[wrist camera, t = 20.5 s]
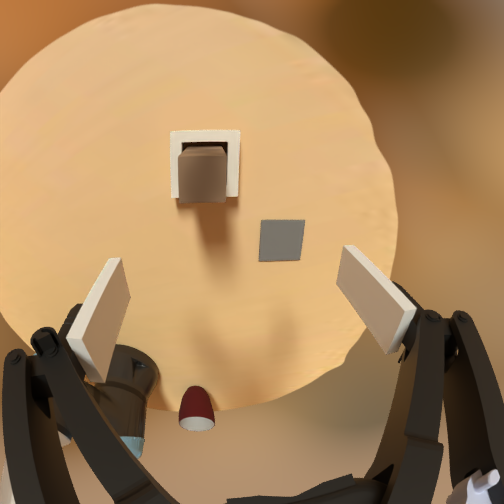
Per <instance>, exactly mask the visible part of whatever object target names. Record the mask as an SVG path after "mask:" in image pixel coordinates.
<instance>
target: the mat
mask: <svg viewBox="0 0 504 504" xmlns="http://www.w3.org/2000/svg"><path fill="white" fill-rule="evenodd" d="M304 226H305V220H261V233H260V249H259V261H278V260H300V256H301V249H302V241H303V234H304Z"/></svg>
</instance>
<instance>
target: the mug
mask: <svg viewBox="0 0 504 504" xmlns="http://www.w3.org/2000/svg"><path fill="white" fill-rule="evenodd" d="M179 425H180V426H181V427H182V428H184V429H187V430H190V431H206V430H209V429H212V428H213V427H214V426H215V419H214V412H213V409H212V405H211V402H210V398H209V396H208V394H207V393H206V392H205V390H204V389H203V388H202V387H199V386H191V387H189V388H188V389H187V391H186V392H185V394H184V395H183V398H182V402H181V406H180V410H179Z"/></svg>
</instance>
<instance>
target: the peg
mask: <svg viewBox="0 0 504 504" xmlns="http://www.w3.org/2000/svg"><path fill="white" fill-rule="evenodd" d="M226 168H227V155H226V153H225V151H224V150H223V148H222V146H221V145H193V146H188V147H187V148H186V149H185V150H184V151H183V152H182V153H181V154H180V155H179V156H178V190H179V203H213V202H226Z"/></svg>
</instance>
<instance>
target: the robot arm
mask: <svg viewBox="0 0 504 504" xmlns="http://www.w3.org/2000/svg"><path fill="white" fill-rule="evenodd" d="M336 284H337V285H338V287H339V288H340V290H341V291H342V292H343V294H344V295H345V296H346V298H347V299H348V301H349V302H350V303H351V305H352V306H353V308H354V309H355V310H356V312H357V313H358V315H359V316H360V318H361V319H362V320H363V322H364V323H365V325H366V326H367V328H368V329H369V330H370V332H371V333H372V335H373V336H374V338H375V339H376V341H377V342H378V343H379V345H380V347H381V348H382V350H383V351H384V353H385V354H386V355H387V354H390V353H393V352H397V351H398V349H399V347H400V345H401V343H403V344H404V346H405V349H404V351H403V353H402V355H401V357H400V359H399V361H398V363H400V361H401V366H400V371H399V376H398V381H397V385H396V389H395V394H394V398H393V402H392V406H391V410H390V413H389V417H388V421H387V424H386V427H385V430H384V434H383V437H382V440H381V443H380V446H379V449H378V452H377V454H376V457H375V460H374V462H373V464H372V466H371V467H370V469H369V470H368V472H367V473H366V475H365V477H364V478H353V476H352V474H349V475H346V476H342V477H339V478H336V479H333V480H330V481H326V482H323V483H321V484H319V485H317V486H315V487H314V488H311V489H310V490H307V491H305V492H303V493H301V494H300V495H297V496H294V497H277V496H276V497H275V496H252V497H243V498H231V499H227V503H225V504H431V501H432V498H433V495H434V491H435V487H436V483H437V479H438V475H439V471H440V466H441V461H442V456H443V448H444V446H443V444H442V443H439V442H438V434H439V427H440V420H441V411H442V401H444V407H445V414H446V422H447V432H448V443H449V459H450V476H451V482H452V487H453V492H452V494H451V495H450V496H448V498H447V501H446V503H447V504H504V403H503V400H502V396H501V393H500V389H499V386H498V383H497V380H496V377H495V374H494V371H493V368H492V365H491V363H490V360H489V357H488V355H487V352H486V350H485V347H484V345H483V342H482V340H481V338H480V335H479V333H478V331H477V329H476V327H475V324H474V322H473V320H472V318H471V317H470V316H469V315H468V314H467V313H466V312H464V311H455V312H454V313H453V315H452V317H451V318H450V319H449V318H442V317H441V315H440V314H438V313H437V312H435V311H433V310H424V309H423V308H422V307H421V306H420V305H419V304H418V303H417V302H416V301H415V300H414V299H413V298H412V297H410V295H409V294H408V293H407V292H406V290H405V289H403V288H402V286H400V285H399V284H397V283H395V282H393V281H392V282H391V281H390V280H389V279H388V278H387V277H386V276H385V275H384V274H383V273H382V272H381V271H380V270H379V269H378V268H377V267H376V266H375V265H374V264H373V263H372V262H371V261H370V260H369V259H368V258H367V257H366V256H365V255H364V254H363V253H362V252H361V251H360V250H359V249H357V248H356V247H355V246H354V245H345V246H343V250H342V256H341V261H340V266H339V272H338V277H337V282H336ZM130 298H131V297H130V293H129V289H128V285H127V281H126V277H125V272H124V268H123V264H122V259H121V258H109V260H108V261H107V263H106V265H105V266H104V268H103V269H102V271H101V273H100V275H99V276H98V278H97V280H96V281H95V283H94V285H93V287H92V289H91V290H90V292H89V294H88V296H87V298H86V299H85V301H84V303H83V304H76V305H75V306H74V307H73V308H72V309H71V310H70V312H69V314H68V316H67V318H66V319H65V321H64V324H63V325H62V327H61V329H60V331H59V333H58V335H57V333H56V331H55V330H54V328H51V327H43V328H40V329H39V330H37V331H36V332H35V333H34V334H33V335H32V337H31V345H32V347H33V348H34V350H35V352H36V353H35V354H34V355H33V356H27V355H26V353H25V352H24V351H23V350H22V349H14V350H12V351H11V352H9V353H8V354H7V356H6V358H5V362H4V371H3V389H2V417H3V435H4V446H5V454H6V459H5V464H4V468H3V473H2V478H1V484H0V504H80V503H79V500H78V498H77V495H76V492H75V490H74V487H73V484H72V481H71V478H70V475H69V472H68V468H67V465H66V462H65V458H64V454H63V450H62V446H65V445H67V444H70V442H71V438H72V437H73V439H74V440H75V442H76V444H77V446H78V448H79V449H80V451H81V453H82V454H83V456H84V458H85V459H86V461H87V463H88V464H89V466H90V467H91V469H92V471H93V472H94V474H95V475H96V476H97V478H98V479H99V481H100V482H101V484H102V485H103V486H104V488H105V489H106V491H107V492H108V493H109V495H110V496H111V497H112V499H113V500H114V503H115V504H180V503H179V502H177V501H176V500H175V499H174V498H173V497H172V496H170V494H169V493H168V492H167V491H166V490H165V489H164V488H163V487H162V486H161V485H160V484H159V483H158V482H157V481H156V480H155V479H154V478H153V477H152V476H151V474H150V473H149V472H148V471H147V470H146V469H145V468H144V466H143V465H142V464H141V463H140V462H139V461H138V458H140V457H141V455H142V451H143V445H144V442H145V439H144V431H145V419H146V407H147V400H148V398H149V397H150V395H151V393H152V391H153V389H154V388H155V386H156V384H157V380H158V368H157V366H156V364H155V363H154V361H153V360H152V359H151V358H150V357H148V356H147V355H146V354H144V353H143V352H141V351H139V350H137V349H135V348H132V347H129V346H125V345H117V344H116V341H117V337H118V334H119V331H120V328H121V325H122V321H123V318H124V315H125V312H126V309H127V306H128V303H129V301H130ZM457 350H458V355H457ZM85 374H86V375H87V377H88V379H89V380H90V382H95V386H92V385H90V384H89V383H87V382H85V381H84V377H85Z"/></svg>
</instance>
